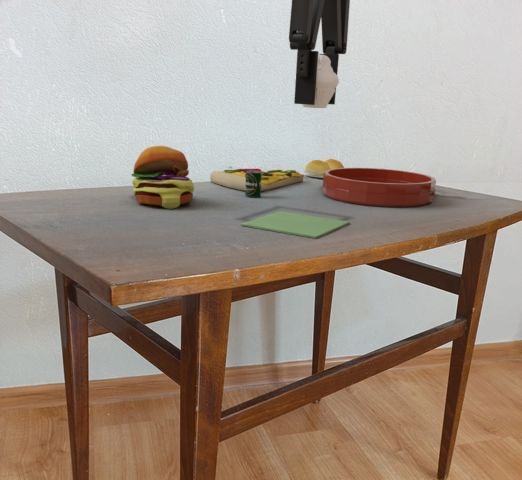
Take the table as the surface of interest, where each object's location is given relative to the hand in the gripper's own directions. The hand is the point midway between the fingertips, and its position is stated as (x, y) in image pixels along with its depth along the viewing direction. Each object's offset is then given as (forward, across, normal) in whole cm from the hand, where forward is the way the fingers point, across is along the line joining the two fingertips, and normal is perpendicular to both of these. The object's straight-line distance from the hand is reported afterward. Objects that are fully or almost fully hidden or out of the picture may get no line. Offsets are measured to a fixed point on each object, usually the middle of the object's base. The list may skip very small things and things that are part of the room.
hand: (315, 103), depth 83 cm
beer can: (+17, -13, -17) cm, 27 cm away
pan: (+17, -29, +1) cm, 33 cm away
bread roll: (+17, -45, -17) cm, 51 cm away
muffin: (+1, 0, 0) cm, 1 cm away
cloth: (+17, +3, 0) cm, 17 cm away
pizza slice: (+17, -27, -22) cm, 38 cm away
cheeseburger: (+17, +4, -25) cm, 30 cm away
